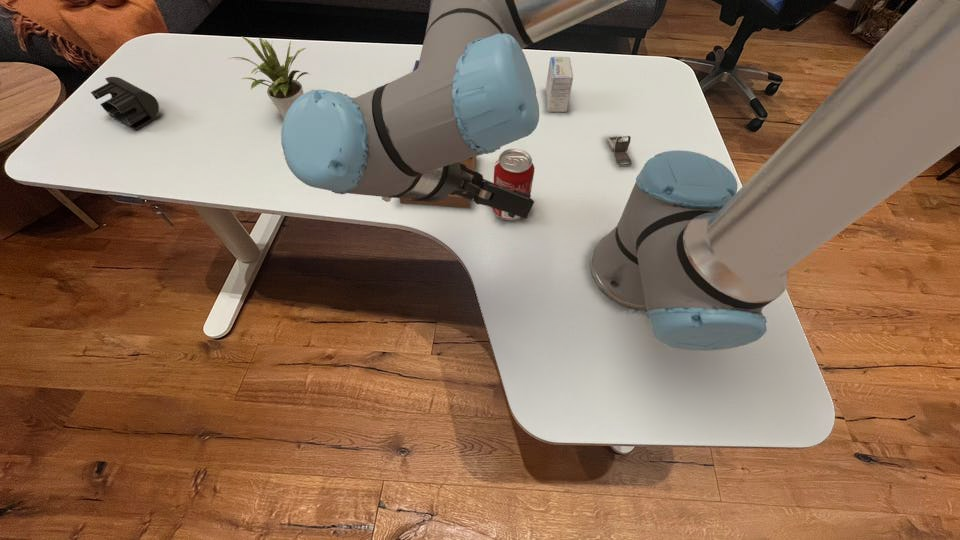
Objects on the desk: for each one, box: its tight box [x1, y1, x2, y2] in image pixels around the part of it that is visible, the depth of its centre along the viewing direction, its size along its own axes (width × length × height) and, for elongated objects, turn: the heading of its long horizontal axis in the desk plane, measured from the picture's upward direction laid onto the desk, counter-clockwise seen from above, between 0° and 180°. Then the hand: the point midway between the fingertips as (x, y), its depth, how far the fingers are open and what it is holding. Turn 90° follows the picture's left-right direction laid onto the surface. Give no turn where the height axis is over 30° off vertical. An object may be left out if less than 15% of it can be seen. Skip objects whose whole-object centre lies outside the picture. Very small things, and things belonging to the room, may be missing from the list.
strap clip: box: [606, 135, 632, 167], centre depth 89 cm, size 8×3×4 cm, turn 8°
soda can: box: [491, 148, 535, 221], centre depth 76 cm, size 7×7×12 cm
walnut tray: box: [399, 156, 477, 209], centre depth 84 cm, size 13×13×3 cm
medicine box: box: [545, 56, 574, 113], centre depth 96 cm, size 8×4×9 cm, turn 179°
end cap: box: [90, 76, 160, 132], centre depth 92 cm, size 10×7×7 cm
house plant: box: [227, 36, 310, 120], centre depth 89 cm, size 14×14×16 cm
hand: (486, 183), depth 66 cm, fingers open, 13 cm apart
